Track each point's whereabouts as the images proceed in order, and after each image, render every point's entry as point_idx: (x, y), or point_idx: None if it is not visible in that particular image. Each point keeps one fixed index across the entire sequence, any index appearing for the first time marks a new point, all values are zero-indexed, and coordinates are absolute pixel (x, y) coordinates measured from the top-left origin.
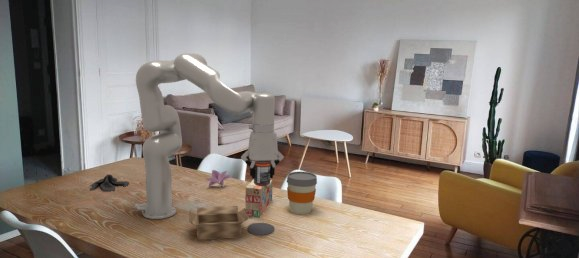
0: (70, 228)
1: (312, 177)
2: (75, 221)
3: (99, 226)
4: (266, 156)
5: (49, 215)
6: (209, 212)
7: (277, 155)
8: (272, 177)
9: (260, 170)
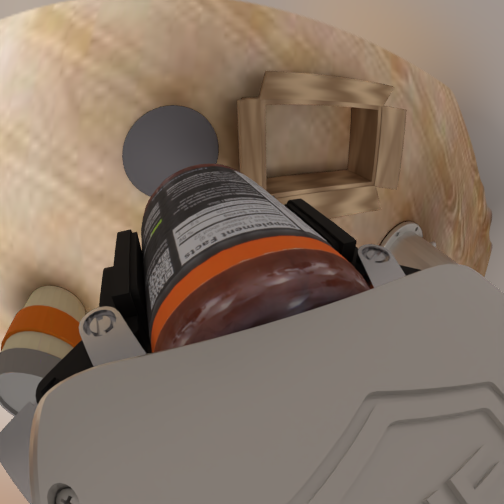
0: (477, 190)
1: (9, 398)
2: (472, 213)
3: (461, 194)
4: (294, 401)
5: (480, 232)
6: (348, 194)
7: (29, 467)
8: (120, 233)
9: (277, 209)
